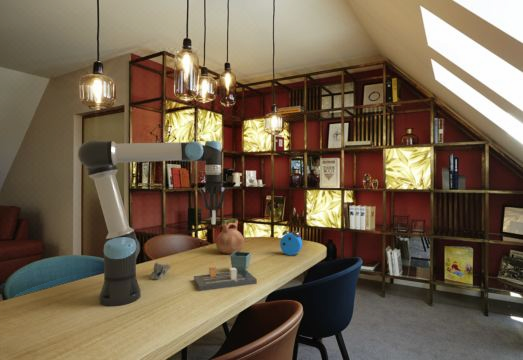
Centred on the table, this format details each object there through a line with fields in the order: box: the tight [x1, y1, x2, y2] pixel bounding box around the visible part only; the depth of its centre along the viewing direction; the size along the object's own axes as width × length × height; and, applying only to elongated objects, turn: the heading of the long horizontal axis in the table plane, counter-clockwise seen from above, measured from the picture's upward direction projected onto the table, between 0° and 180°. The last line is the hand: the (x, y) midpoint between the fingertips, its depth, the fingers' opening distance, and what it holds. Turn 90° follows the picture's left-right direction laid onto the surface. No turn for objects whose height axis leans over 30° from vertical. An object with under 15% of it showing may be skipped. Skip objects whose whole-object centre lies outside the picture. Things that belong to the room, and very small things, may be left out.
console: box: [193, 269, 258, 292], centre depth 148 cm, size 26×15×3 cm, turn 111°
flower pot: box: [229, 251, 252, 271], centre depth 165 cm, size 9×9×9 cm
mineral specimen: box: [150, 262, 172, 281], centre depth 156 cm, size 10×8×10 cm
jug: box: [215, 220, 245, 256], centre depth 206 cm, size 18×18×20 cm
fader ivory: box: [228, 267, 237, 279], centre depth 146 cm, size 3×3×4 cm
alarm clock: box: [279, 230, 303, 256], centre depth 200 cm, size 13×6×15 cm, turn 66°
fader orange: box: [208, 265, 217, 277], centre depth 149 cm, size 3×3×4 cm
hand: (213, 223), depth 151 cm, fingers closed
